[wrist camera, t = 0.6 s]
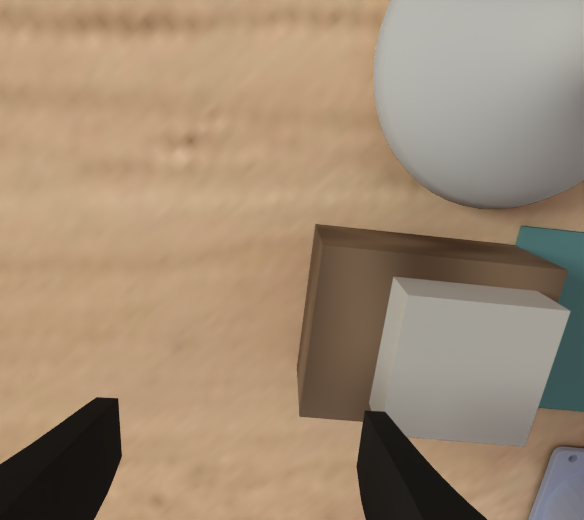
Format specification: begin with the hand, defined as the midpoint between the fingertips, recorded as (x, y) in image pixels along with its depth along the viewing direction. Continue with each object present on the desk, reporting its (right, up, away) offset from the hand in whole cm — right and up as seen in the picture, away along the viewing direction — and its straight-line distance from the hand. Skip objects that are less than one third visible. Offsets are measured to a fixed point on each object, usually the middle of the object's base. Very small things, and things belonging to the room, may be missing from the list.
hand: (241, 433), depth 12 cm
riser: (+7, +3, +9) cm, 12 cm away
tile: (+8, +1, +5) cm, 10 cm away
